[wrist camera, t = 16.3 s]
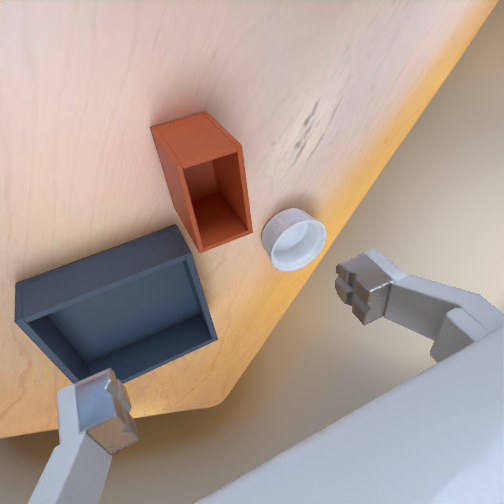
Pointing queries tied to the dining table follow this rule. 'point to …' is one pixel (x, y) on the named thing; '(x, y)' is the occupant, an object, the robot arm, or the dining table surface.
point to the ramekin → (293, 239)
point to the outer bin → (118, 309)
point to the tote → (205, 179)
